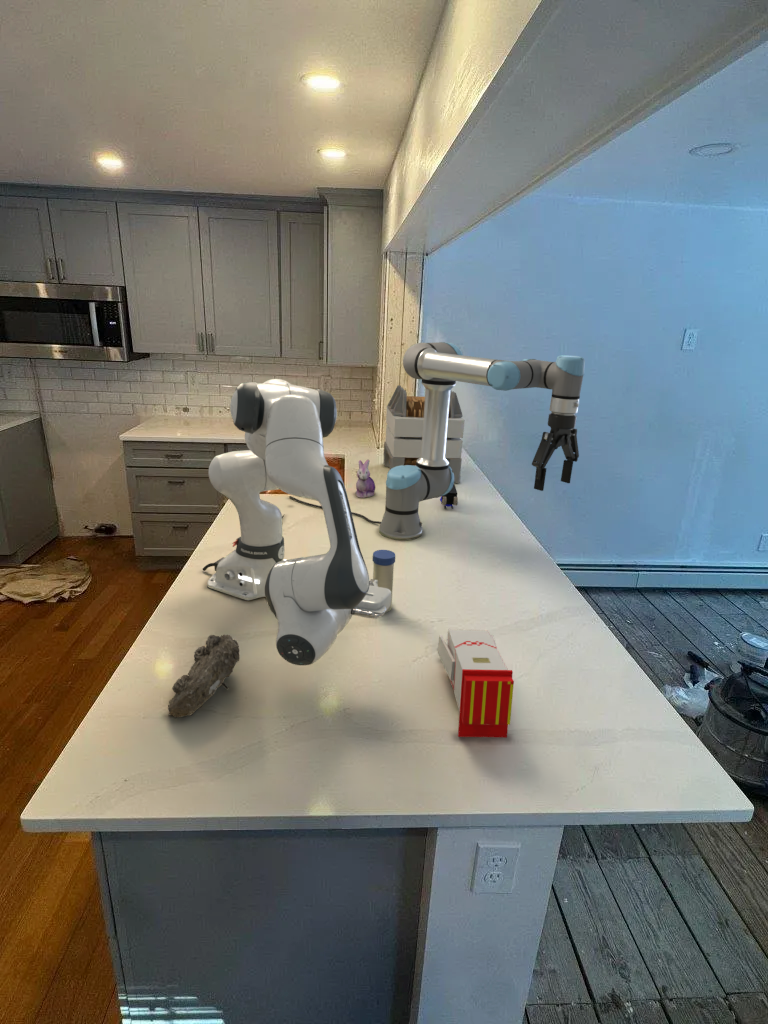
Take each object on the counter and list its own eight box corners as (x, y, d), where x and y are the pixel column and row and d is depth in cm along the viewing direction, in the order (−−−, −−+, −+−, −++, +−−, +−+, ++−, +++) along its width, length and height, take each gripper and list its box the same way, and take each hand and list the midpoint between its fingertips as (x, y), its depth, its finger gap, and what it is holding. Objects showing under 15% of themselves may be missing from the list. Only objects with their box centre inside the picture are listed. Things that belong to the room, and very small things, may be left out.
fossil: (192, 637, 126) (240, 606, 121) (222, 665, 128) (270, 636, 123) (145, 711, 106) (200, 678, 101) (182, 743, 109) (237, 712, 104)
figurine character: (457, 514, 225) (453, 498, 239) (459, 497, 222) (455, 481, 236) (441, 513, 225) (437, 497, 239) (442, 496, 222) (439, 481, 235)
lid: (375, 554, 149) (375, 548, 148) (397, 557, 148) (397, 551, 147) (370, 563, 143) (370, 557, 143) (392, 567, 142) (393, 560, 142)
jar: (374, 601, 153) (376, 550, 148) (393, 604, 152) (396, 553, 147) (369, 611, 148) (371, 558, 143) (389, 614, 147) (391, 561, 142)
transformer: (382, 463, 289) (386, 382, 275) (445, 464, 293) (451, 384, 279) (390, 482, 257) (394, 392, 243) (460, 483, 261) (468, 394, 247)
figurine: (360, 499, 233) (361, 464, 228) (349, 492, 242) (350, 458, 237) (380, 497, 237) (381, 462, 232) (369, 490, 246) (370, 456, 241)
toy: (488, 613, 130) (523, 677, 101) (484, 667, 133) (517, 744, 104) (435, 612, 130) (455, 676, 101) (432, 666, 133) (451, 743, 103)
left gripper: (381, 603, 106) (400, 573, 119) (282, 585, 111) (310, 558, 124) (380, 632, 108) (399, 600, 121) (282, 613, 114) (310, 584, 126)
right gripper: (548, 419, 148) (537, 496, 155) (598, 411, 163) (586, 482, 171) (525, 414, 153) (515, 489, 160) (575, 407, 169) (564, 476, 176)
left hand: (353, 578), depth 123 cm, fingers open, 8 cm apart
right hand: (552, 485), depth 166 cm, fingers open, 13 cm apart
